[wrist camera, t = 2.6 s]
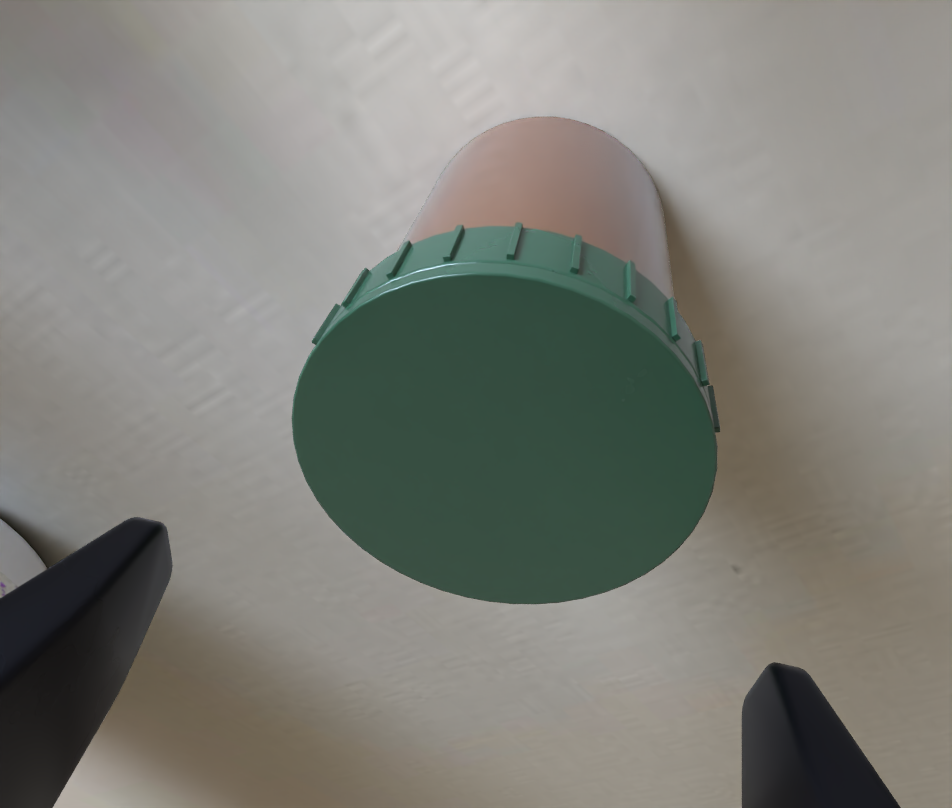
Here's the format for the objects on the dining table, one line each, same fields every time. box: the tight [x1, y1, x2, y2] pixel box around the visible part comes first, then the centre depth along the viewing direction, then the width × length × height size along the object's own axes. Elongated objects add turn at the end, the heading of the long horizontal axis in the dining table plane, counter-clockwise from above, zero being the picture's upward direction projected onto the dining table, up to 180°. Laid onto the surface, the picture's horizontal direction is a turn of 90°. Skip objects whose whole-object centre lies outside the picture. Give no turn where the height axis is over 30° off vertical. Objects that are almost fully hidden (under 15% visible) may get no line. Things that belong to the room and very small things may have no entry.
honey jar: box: [397, 117, 674, 299], centre depth 15 cm, size 6×6×8 cm
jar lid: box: [292, 222, 720, 604], centre depth 12 cm, size 7×7×2 cm
